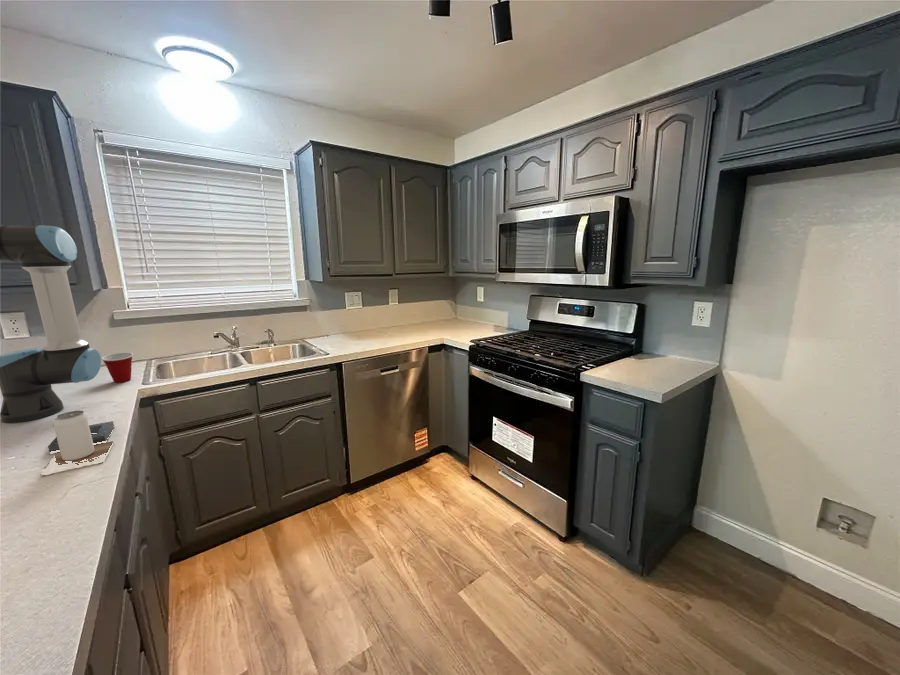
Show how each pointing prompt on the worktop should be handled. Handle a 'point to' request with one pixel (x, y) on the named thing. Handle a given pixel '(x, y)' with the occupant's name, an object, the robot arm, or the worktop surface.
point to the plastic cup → (119, 366)
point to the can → (73, 435)
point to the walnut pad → (98, 451)
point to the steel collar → (102, 435)
